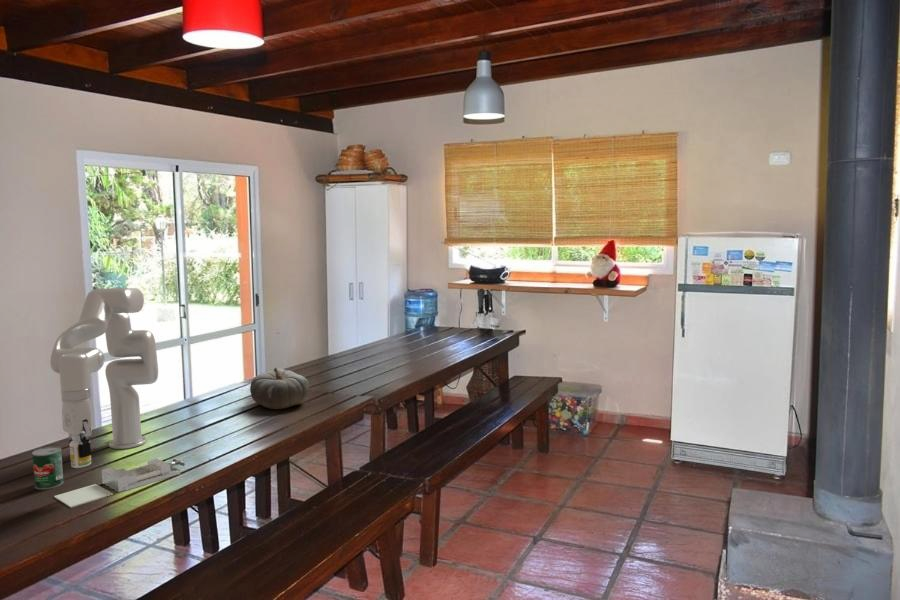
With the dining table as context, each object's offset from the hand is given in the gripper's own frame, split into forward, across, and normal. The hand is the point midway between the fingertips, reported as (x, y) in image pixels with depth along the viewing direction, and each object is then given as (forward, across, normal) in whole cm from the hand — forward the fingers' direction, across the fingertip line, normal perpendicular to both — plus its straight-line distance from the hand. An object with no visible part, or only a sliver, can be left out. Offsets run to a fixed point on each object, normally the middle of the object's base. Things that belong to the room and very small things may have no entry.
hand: (80, 453), depth 205 cm
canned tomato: (+13, -18, -3) cm, 23 cm away
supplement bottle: (+4, 0, 0) cm, 4 cm away
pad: (+13, 0, 0) cm, 13 cm away
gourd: (+13, -37, +99) cm, 107 cm away
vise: (+13, 0, +19) cm, 23 cm away
